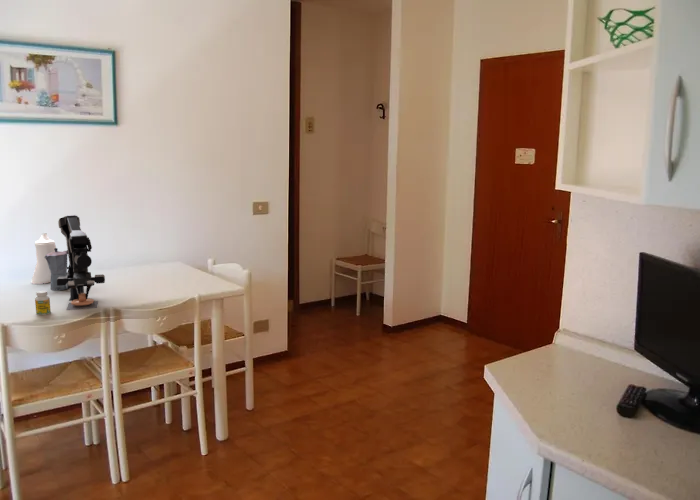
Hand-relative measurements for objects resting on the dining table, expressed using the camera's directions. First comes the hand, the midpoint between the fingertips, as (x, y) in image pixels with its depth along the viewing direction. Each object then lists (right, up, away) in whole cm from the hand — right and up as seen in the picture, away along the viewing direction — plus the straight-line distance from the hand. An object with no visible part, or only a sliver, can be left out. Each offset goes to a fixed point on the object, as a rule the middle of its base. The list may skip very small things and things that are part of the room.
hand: (82, 299), depth 260 cm
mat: (0, -3, +1) cm, 3 cm away
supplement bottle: (-11, -5, -12) cm, 17 cm away
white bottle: (-38, +5, +43) cm, 58 cm away
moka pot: (-25, +3, +32) cm, 40 cm away
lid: (0, -2, 0) cm, 2 cm away
